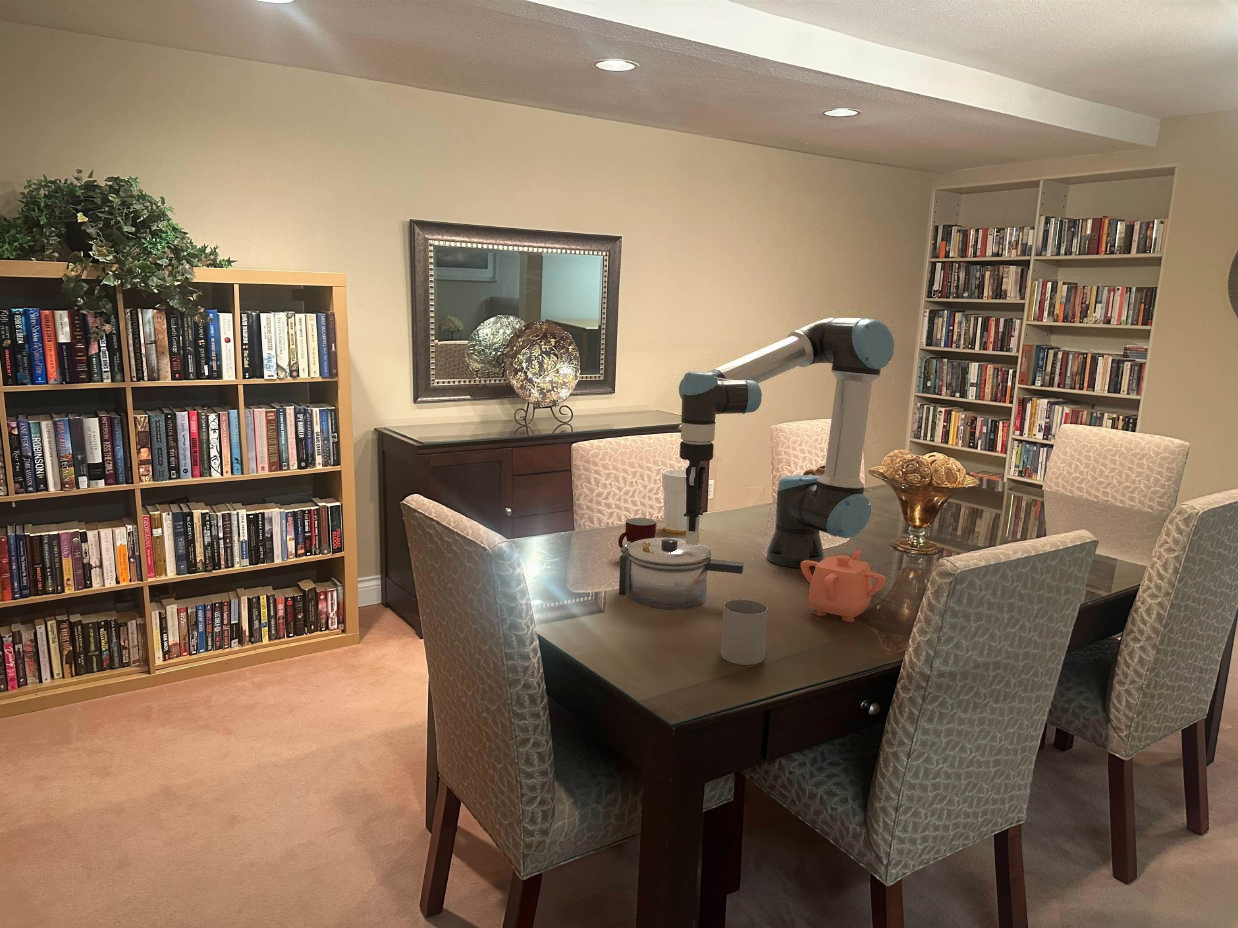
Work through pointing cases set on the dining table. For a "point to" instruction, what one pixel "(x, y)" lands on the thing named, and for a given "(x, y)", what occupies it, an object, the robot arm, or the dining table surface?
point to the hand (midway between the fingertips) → (691, 543)
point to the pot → (669, 581)
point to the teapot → (841, 585)
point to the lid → (667, 551)
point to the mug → (638, 530)
